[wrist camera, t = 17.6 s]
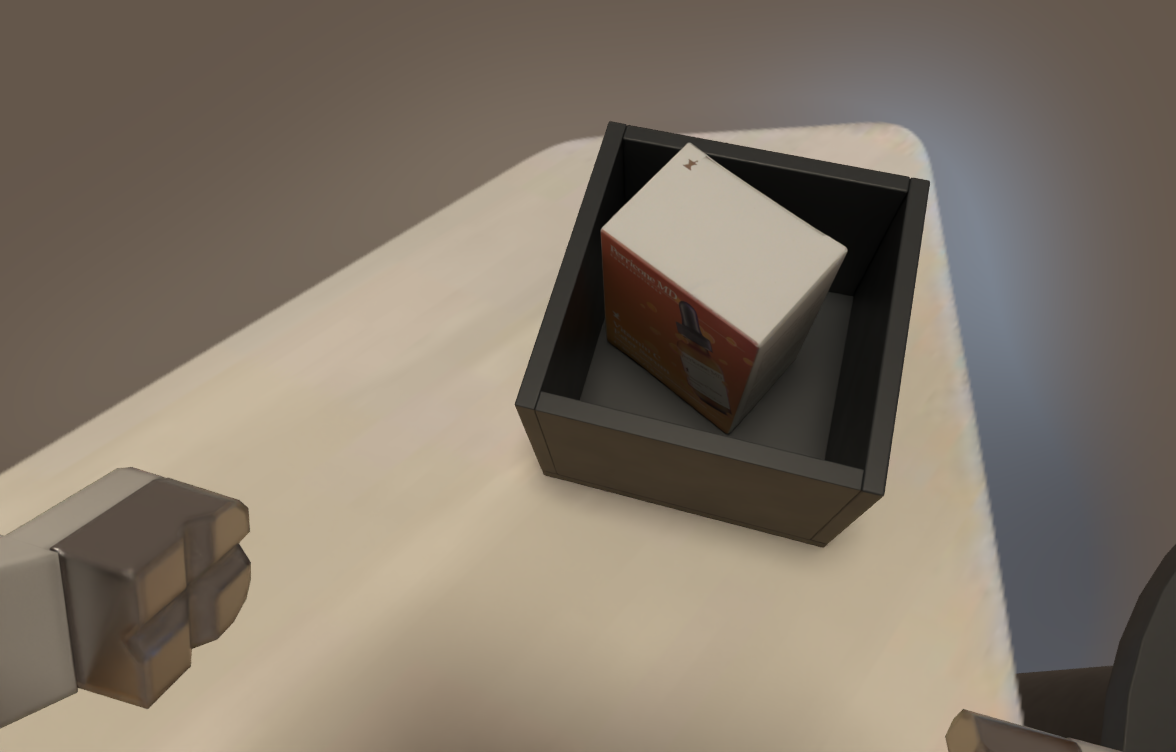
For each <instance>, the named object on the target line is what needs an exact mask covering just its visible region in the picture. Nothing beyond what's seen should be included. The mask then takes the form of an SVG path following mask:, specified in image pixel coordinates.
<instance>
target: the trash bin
mask: <svg viewBox="0 0 1176 752" xmlns="http://www.w3.org/2000/svg"><path fill="white" fill-rule="evenodd" d="M687 143H692V144H693V145H694V146H696V147H697V148H698V149H700V150H701V151H702V152H704V153H705V154H706V155H708V156H709V157H710V158H711V159H713V160H714V161H715V162H717V163H718V164H720V165H721V166H722V167H724V168H725V169H727V170H728V171H730V172H731V173H733V174H734V175H736V176H737V177H738V178H740V179H741V180H743V181H744V182H746V183H747V184H749V185H750V186H752V187H753V188H755V189H756V190H758V191H759V192H761V193H762V194H764V195H765V196H767V197H768V198H770V199H771V200H773V201H774V202H776V203H777V204H779V205H780V206H782V207H783V208H785V209H786V210H788V211H789V212H791V213H793V214H794V215H796V216H797V217H799V218H800V219H802V220H803V221H805V222H806V223H808V224H809V225H811V226H812V227H814V228H815V229H817V230H819V231H820V232H822V233H824V234H825V235H827V236H829V237H831V238H832V239H834V240H835V241H837V242H839V243H841V244H842V245H844V246H845V247H846V248H847V254H846V256H845V258H844V260H843V262H842V264H841V266H840V268H839V270H838V272H837V274H836V276H835V278H834V280H833V282H832V284H831V287H830V289H829V291H828V293H827V295H826V297H825V299H824V301H823V303H822V306H821V308H820V310H819V312H818V314H817V316H816V318H815V320H814V322H813V324H812V326H811V328H810V330H809V332H808V334H807V336H806V338H805V340H804V343H803V345H802V347H801V349H800V350H799V353H798V355H797V357H796V359H795V360H794V361H793V362H792V363H791V364H790V366H789V367H788V368H787V369H786V370H785V372H784V373H783V374H782V375H781V376H780V377H779V379H778V380H777V381H776V382H775V383H774V384H773V385H772V387H771V388H770V389H769V390H768V391H767V392H766V393H765V395H764V396H763V397H762V398H761V399H760V400H759V401H758V403H757V404H756V405H755V406H754V407H753V408H752V409H751V411H750V412H749V413H748V414H747V415H746V416H745V417H744V419H743V420H742V421H741V422H740V423H739V424H738V425H737V426H736V427H735V428H734V429H733V431H732V432H731V433H729V434H727V433H725V432H723V431H722V430H721V429H719V428H718V427H717V426H716V425H714V424H713V423H712V422H711V421H710V420H708V419H707V418H706V417H704V416H703V415H702V414H701V413H699V412H698V411H697V410H696V409H694V408H693V407H692V406H691V405H689V404H688V403H687V402H686V401H684V400H683V399H682V398H681V397H679V396H678V395H677V394H676V393H674V392H673V391H672V390H671V389H670V388H668V387H667V386H666V385H665V384H663V383H662V382H661V381H660V380H658V379H657V378H656V377H655V376H653V375H652V374H651V373H650V372H648V371H647V370H646V369H645V368H643V367H642V366H641V365H639V364H638V363H637V362H636V361H634V360H633V359H632V358H630V357H629V356H628V355H626V354H625V353H624V352H622V351H621V350H619V349H618V348H617V347H615V346H614V345H613V344H611V343H610V342H609V341H608V340H607V338H606V323H605V304H604V288H603V269H602V246H601V229H602V227H603V226H604V225H605V224H606V223H607V222H608V221H609V220H610V219H611V218H612V217H613V216H614V215H615V214H616V213H617V212H618V211H619V210H620V209H621V208H622V207H623V206H624V205H625V204H626V203H627V202H628V201H629V200H630V199H631V198H632V197H633V196H634V195H635V194H636V193H637V192H639V191H640V190H641V189H642V188H643V187H644V186H645V185H646V184H647V183H648V182H649V181H650V180H651V179H652V178H653V177H654V176H655V175H656V174H657V173H658V172H659V171H660V170H661V169H662V168H663V167H664V166H665V165H666V164H667V163H668V162H669V161H670V160H671V159H672V158H673V157H674V156H675V155H676V154H677V153H678V152H679V151H680V150H681V149H682V148H683V147H684V146H685V145H686V144H687ZM929 186H930V181H928V180H923V179H918V178H911V179H910V177H907V176H902V175H896V174H891V173H885V172H880V171H875V170H869V169H864V168H858V167H853V166H848V165H842V164H837V163H831V162H826V161H821V160H815V159H810V158H804V157H799V156H794V155H788V154H783V153H777V152H772V151H766V150H761V149H756V148H750V147H745V146H739V145H734V144H729V143H723V142H718V141H712V140H707V139H702V138H696V137H691V136H685V135H680V134H674V133H669V132H664V131H658V130H653V129H647V128H642V127H637V126H631V125H628V126H626V124H622V123H617V122H609V123H608V126H607V129H606V132H605V135H604V138H603V141H602V144H601V147H600V150H599V153H598V156H597V159H596V162H595V165H594V168H593V171H592V174H591V177H590V180H589V183H588V186H587V189H586V192H585V195H584V198H583V201H582V204H581V207H580V210H579V213H578V216H577V219H576V222H575V225H574V228H573V231H572V234H571V237H570V240H569V243H568V246H567V249H566V252H565V255H564V258H563V261H562V264H561V267H560V270H559V273H558V276H557V279H556V282H555V285H554V288H553V291H552V294H551V297H550V300H549V303H548V306H547V309H546V312H545V315H544V318H543V321H542V324H541V327H540V330H539V333H538V336H537V339H536V342H535V345H534V348H533V351H532V354H531V357H530V360H529V363H528V366H527V369H526V372H525V375H524V378H523V381H522V384H521V387H520V390H519V393H518V396H517V399H516V402H515V407H516V409H517V411H518V414H519V416H520V419H521V421H522V423H523V426H524V428H525V431H526V433H527V435H528V438H529V440H530V443H531V445H532V447H533V450H534V452H535V455H536V457H537V459H538V462H539V464H540V467H541V469H542V471H543V474H544V475H548V476H551V477H555V478H559V479H563V480H567V481H571V482H574V483H578V484H582V485H586V486H590V487H594V488H597V489H601V490H605V491H609V492H613V493H617V494H621V495H624V496H628V497H632V498H636V499H640V500H644V501H647V502H651V503H655V504H659V505H663V506H667V507H670V508H674V509H678V510H682V511H686V512H690V513H693V514H697V515H701V516H705V517H709V518H713V519H717V520H720V521H724V522H728V523H732V524H736V525H740V526H743V527H747V528H751V529H755V530H759V531H763V532H766V533H770V534H774V535H778V536H782V537H786V538H789V539H793V540H797V541H801V542H805V543H809V544H813V545H816V546H820V547H825V546H826V545H827V544H828V543H829V542H830V541H831V540H833V539H834V538H835V537H836V536H837V535H838V534H840V533H841V532H842V531H843V530H844V529H845V528H847V527H848V526H849V525H850V524H851V523H852V522H854V521H855V520H856V519H857V518H858V517H859V516H861V515H862V514H863V513H864V512H865V511H867V510H868V509H869V508H870V507H871V506H872V505H874V504H875V503H876V502H877V501H878V500H879V499H881V498H882V497H883V496H884V493H885V486H886V479H887V472H888V466H889V459H890V452H891V445H892V438H893V432H894V425H895V418H896V411H897V404H898V397H899V391H900V384H901V377H902V370H903V363H904V357H905V350H906V343H907V336H908V329H909V322H910V316H911V309H912V302H913V295H914V288H915V282H916V275H917V268H918V261H919V254H920V247H921V241H922V234H923V227H924V220H925V213H926V207H927V200H928V193H929Z"/></svg>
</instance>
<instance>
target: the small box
mask: <svg viewBox="0 0 1176 752" xmlns="http://www.w3.org/2000/svg"><path fill="white" fill-rule="evenodd" d="M601 246H602V269H603V288H604V304H605V323H606V338H607V340H608V341H609V342H610V343H611V344H613V345H614V346H615V347H617V348H618V349H619V350H621V351H622V352H624V353H625V354H626V355H628V356H629V357H630V358H632V359H633V360H634V361H636V362H637V363H638V364H639V365H641V366H642V367H643V368H645V369H646V370H647V371H648V372H650V373H651V374H652V375H653V376H655V377H656V378H657V379H658V380H660V381H661V382H662V383H663V384H665V385H666V386H667V387H668V388H670V389H671V390H672V391H673V392H674V393H676V394H677V395H678V396H679V397H681V398H682V399H683V400H684V401H686V402H687V403H688V404H689V405H691V406H692V407H693V408H694V409H696V410H697V411H698V412H699V413H701V414H702V415H703V416H704V417H706V418H707V419H708V420H710V421H711V422H712V423H713V424H714V425H716V426H717V427H718V428H719V429H721V430H722V431H723V432H725V433H727V434H729V433H731V432H732V431H733V429H734V428H735V427H736V426H737V425H738V424H739V423H740V422H741V421H742V420H743V419H744V417H745V416H746V415H747V414H748V413H749V412H750V411H751V409H752V408H753V407H754V406H755V405H756V404H757V403H758V401H759V400H760V399H761V398H762V397H763V396H764V395H765V393H766V392H767V391H768V390H769V389H770V388H771V387H772V385H773V384H774V383H775V382H776V381H777V380H778V379H779V377H780V376H781V375H782V374H783V373H784V372H785V370H786V369H787V368H788V367H789V366H790V364H791V363H792V362H793V361H794V360H795V359H796V357H797V355H798V353H799V350H800V349H801V347H802V345H803V343H804V340H805V338H806V336H807V334H808V332H809V330H810V328H811V326H812V324H813V322H814V320H815V318H816V316H817V314H818V312H819V310H820V308H821V306H822V303H823V301H824V299H825V297H826V295H827V293H828V291H829V289H830V287H831V284H832V282H833V280H834V278H835V276H836V274H837V272H838V270H839V268H840V266H841V264H842V262H843V260H844V258H845V256H846V254H847V248H846V247H845V246H844V245H842V244H841V243H839V242H837V241H835V240H834V239H832V238H831V237H829V236H827V235H825V234H824V233H822V232H820V231H819V230H817V229H815V228H814V227H812V226H811V225H809V224H808V223H806V222H805V221H803V220H802V219H800V218H799V217H797V216H796V215H794V214H793V213H791V212H789V211H788V210H786V209H785V208H783V207H782V206H780V205H779V204H777V203H776V202H774V201H773V200H771V199H770V198H768V197H767V196H765V195H764V194H762V193H761V192H759V191H758V190H756V189H755V188H753V187H752V186H750V185H749V184H747V183H746V182H744V181H743V180H741V179H740V178H738V177H737V176H736V175H734V174H733V173H731V172H730V171H728V170H727V169H725V168H724V167H722V166H721V165H720V164H718V163H717V162H715V161H714V160H713V159H711V158H710V157H709V156H708V155H706V154H705V153H704V152H702V151H701V150H700V149H698V148H697V147H696V146H694V145H693V144H692V143H687V144H686V145H685V146H684V147H683V148H682V149H681V150H680V151H679V152H678V153H677V154H676V155H675V156H674V157H673V158H672V159H671V160H670V161H669V162H668V163H667V164H666V165H665V166H664V167H663V168H662V169H661V170H660V171H659V172H658V173H657V174H656V175H655V176H654V177H653V178H652V179H651V180H650V181H649V182H648V183H647V184H646V185H645V186H644V187H643V188H642V189H641V190H640V191H639V192H637V193H636V194H635V195H634V196H633V197H632V198H631V199H630V200H629V201H628V202H627V203H626V204H625V205H624V206H623V207H622V208H621V209H620V210H619V211H618V212H617V213H616V214H615V215H614V216H613V217H612V218H611V219H610V220H609V221H608V222H607V223H606V224H605V225H604V226H603V227H602V229H601Z"/></svg>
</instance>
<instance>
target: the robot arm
mask: <svg viewBox="0 0 1176 752" xmlns="http://www.w3.org/2000/svg"><path fill="white" fill-rule="evenodd" d="M249 532H250V525H249V511H248V507H247V506H245V505H244V504H243V503H242V502H241V501H240V500H237V499H234V498H231V497H228V496H225V495H222V494H218V493H215V492H212V491H209V490H206V489H202V488H199V487H196V486H193V485H190V484H187V483H183V482H180V481H177V480H174V479H171V478H164V477H162V476H159V475H156V474H153V473H149V472H146V471H143V470H140V469H137V468H133V467H128V468H117V469H115V470H113V471H112V472H110V473H108V474H107V475H105V476H103V477H102V478H100V479H98V480H97V481H95V482H93V483H92V484H90V485H88V486H87V487H85V488H83V489H82V490H80V491H78V492H77V493H75V494H73V495H72V496H70V497H68V498H67V499H65V500H63V501H62V502H60V503H58V504H57V505H55V506H53V507H52V508H50V509H48V510H47V511H45V512H43V513H42V514H40V515H38V516H37V517H35V518H34V519H32V520H30V521H29V522H27V523H25V524H24V525H22V526H20V527H19V528H17V529H15V530H14V531H12V532H10V533H9V534H7V535H5V536H3V535H0V728H2V727H5V726H7V725H9V724H11V723H13V722H15V721H17V720H19V719H22V718H24V717H26V716H28V715H30V714H32V713H34V712H37V711H39V710H41V709H43V708H45V707H47V706H49V705H51V704H54V703H56V702H58V701H60V700H62V699H64V698H66V697H69V696H71V695H73V694H75V693H77V692H78V688H80V689H84V690H87V691H90V692H93V693H97V694H100V695H103V696H107V697H110V698H113V699H116V700H120V701H123V702H126V703H129V704H133V705H136V706H139V707H143V708H146V709H149V708H150V707H151V706H152V705H153V704H154V703H155V702H156V701H157V700H158V699H159V698H160V697H161V696H162V695H163V694H164V693H165V692H166V691H167V690H168V689H169V688H170V687H171V686H172V685H173V684H174V683H175V682H176V681H177V680H178V679H179V678H180V677H181V676H182V675H183V674H184V673H185V672H186V671H187V670H188V669H189V668H190V667H191V656H192V649H193V648H196V647H198V646H201V645H204V644H206V643H209V642H212V641H214V640H217V639H218V638H219V637H220V636H221V635H222V634H223V633H224V632H225V631H226V630H227V629H228V628H229V627H230V625H231V624H232V623H233V622H234V621H235V619H236V617H237V615H238V613H239V612H240V610H241V608H242V606H243V604H244V602H245V600H246V598H247V594H248V590H249V585H250V581H251V562H250V561H249V559H248V557H247V556H246V554H245V553H244V551H243V549H242V548H241V546H240V545H239V543H240V542H241V541H242V539H243V538H244V537H245V536H246V535H247V534H248V533H249ZM945 738H946V743H947V747H948V752H1121V751H1118V750H1114V749H1110V748H1106V747H1102V746H1099V745H1095V744H1091V743H1087V742H1084V741H1080V740H1076V739H1072V738H1063V737H1060V736H1057V735H1053V734H1050V733H1046V732H1043V731H1039V730H1036V729H1032V728H1028V727H1025V726H1021V725H1018V724H1014V723H1011V722H1007V721H1004V720H1000V719H997V718H993V717H989V716H986V715H982V714H979V713H975V712H972V711H968V710H965V709H963V710H962V711H961V712H960V713H959V714H958V715H957V716H956V717H955V718H954V719H953V721H952V723H951V725H950V727H949V729H948V731H947V734H946V736H945Z"/></svg>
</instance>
